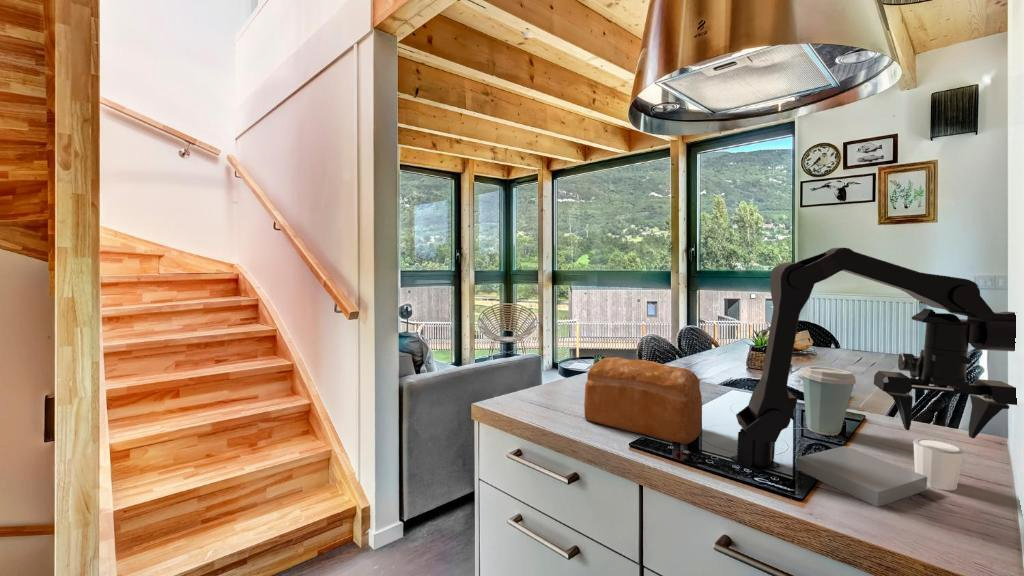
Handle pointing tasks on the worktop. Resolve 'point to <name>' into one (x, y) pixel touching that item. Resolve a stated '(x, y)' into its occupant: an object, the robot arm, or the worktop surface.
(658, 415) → the bread
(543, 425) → the worktop surface
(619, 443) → the worktop surface
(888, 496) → the slate board
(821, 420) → the disposable coffee cup
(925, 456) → the white cup
